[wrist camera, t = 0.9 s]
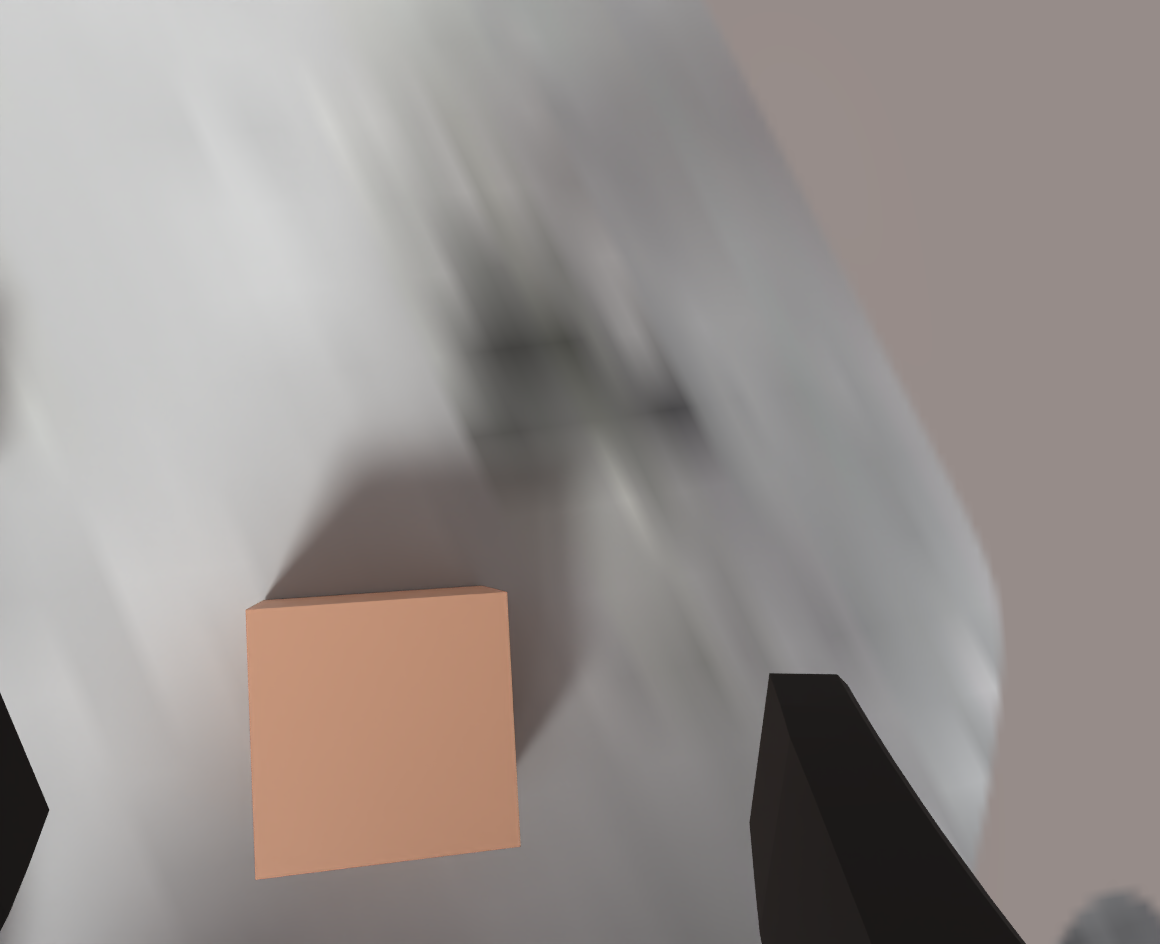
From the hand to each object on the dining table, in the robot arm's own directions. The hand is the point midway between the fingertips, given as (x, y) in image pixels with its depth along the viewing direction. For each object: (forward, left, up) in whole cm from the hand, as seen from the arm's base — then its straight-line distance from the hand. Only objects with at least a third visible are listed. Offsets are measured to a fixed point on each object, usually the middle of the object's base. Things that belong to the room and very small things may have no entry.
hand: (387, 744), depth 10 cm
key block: (-2, 0, -14) cm, 15 cm away
